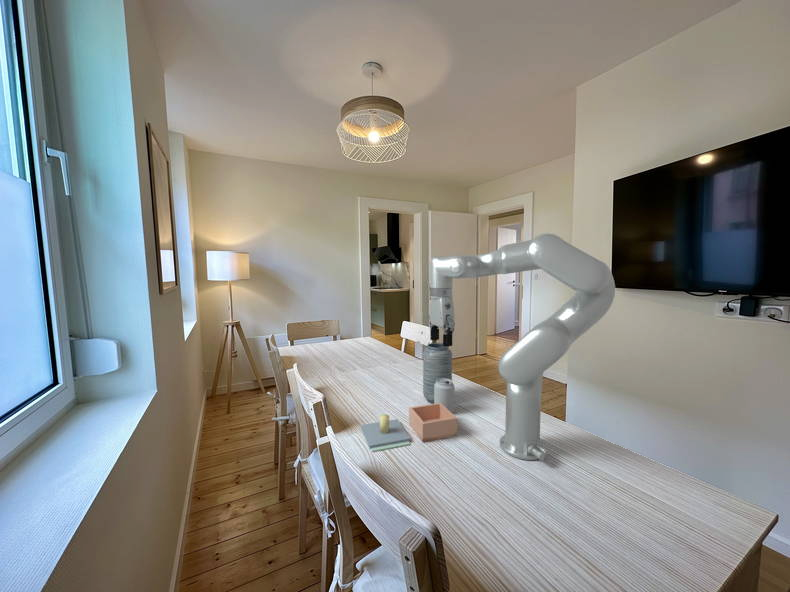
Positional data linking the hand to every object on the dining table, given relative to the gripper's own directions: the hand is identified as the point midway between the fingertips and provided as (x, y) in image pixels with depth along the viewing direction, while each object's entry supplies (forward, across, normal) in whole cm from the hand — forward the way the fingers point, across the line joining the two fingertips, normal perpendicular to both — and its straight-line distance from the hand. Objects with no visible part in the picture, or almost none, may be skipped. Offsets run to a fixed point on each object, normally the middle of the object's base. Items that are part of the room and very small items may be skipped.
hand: (440, 342), depth 105 cm
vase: (+28, +17, -7) cm, 34 cm away
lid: (+28, -2, +21) cm, 35 cm away
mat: (+28, -2, +21) cm, 35 cm away
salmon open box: (+28, -4, +5) cm, 29 cm away
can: (+28, +7, -5) cm, 30 cm away
